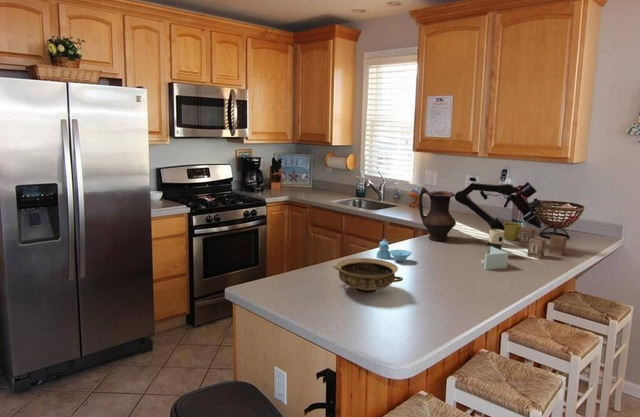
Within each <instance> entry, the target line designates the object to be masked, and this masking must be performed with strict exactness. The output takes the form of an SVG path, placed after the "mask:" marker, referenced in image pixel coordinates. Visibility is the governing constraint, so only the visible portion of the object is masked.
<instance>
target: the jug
mask: <svg viewBox="0 0 640 417" xmlns="http://www.w3.org/2000/svg"><path fill="white" fill-rule="evenodd" d="M424 194H426V195H427V196H428V197H429V199H430V205H429V206H430V207H429V208H430V210H429V212H428V213H427V214H426V215H424V209H423V208H424V206H423V197H424ZM455 194H456V193H454V192H451V191H446V190H442V191H441V190H440V191H439V190H438V191H435V190H434V191H429V190H428V189H426V188H425V186H423V187H421V189H420V193H419V194H418V211H419V215H420V218H421V221H422V224H423V225H424V227H425V228H426V230H427V231H428V233H429V235H428V239H429V240H431V241H435V242H444V241H448V240H449V236H448V234H449V233H450V231H451V230H452V229H453V228H454V227H455V226H456V225H457V222H456V220H455V218H454V217H453V216H452V215H451V213H450V202H451V198H453V197H454V198H455Z"/></svg>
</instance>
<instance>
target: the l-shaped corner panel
mask: <svg viewBox="0 0 640 417" xmlns="http://www.w3.org/2000/svg"><path fill="white" fill-rule="evenodd" d="M489 247H490V246H489ZM508 261H509V252H507V251H504V250H502V249H501V250H499V249H496V248H494V247H490V254H488V253H485V255H484V259H483V260H481V261H480V264H481V266H483V267H484V268H483V270H487V271H489V270H500V269H507V268H508V263H509V262H508Z"/></svg>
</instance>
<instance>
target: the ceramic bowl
mask: <svg viewBox="0 0 640 417" xmlns="http://www.w3.org/2000/svg"><path fill="white" fill-rule="evenodd" d="M333 268H334V269H335V270H336V271H338V277H339V279H340V281H341V282H343V283H344V284H345V285H346V286H349V287H350V288H351V287H352V288H353V289H355V291H356V292H357V293H361V294H365V295H366V294H374V293H376V292H377V290H382V289H385V288H387V287H389V286H390V285H392V284H393V283H399V282H402V281H403V280H404V277H403V276H402V277H401V276H396V275H395V273H396V272H398V271H399V268H398V265H396V264H394V263H392V262H390V261H386V260H385V259H379V258H372V257H371V258H368V257H367V258H365V257H351V258H346V259H343V260H340V261H338V262H337V263H336V264H333Z"/></svg>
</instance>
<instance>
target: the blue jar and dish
mask: <svg viewBox="0 0 640 417" xmlns="http://www.w3.org/2000/svg"><path fill="white" fill-rule="evenodd" d="M389 243H390V242H389V241H387V239H385V238H383V239H382V241H379V246H378V248H379V250H377V252H376V259H379V260H390V259H391V256H392V257H393V258H394V259H395V261H396V262H398V263H403V262H404V261H405V260H406V259H408V258H409V257H410V256H411V255H412V252H411V251H410V250H405V249H392V250H389V249H390V247H389V245H390V244H389Z"/></svg>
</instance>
